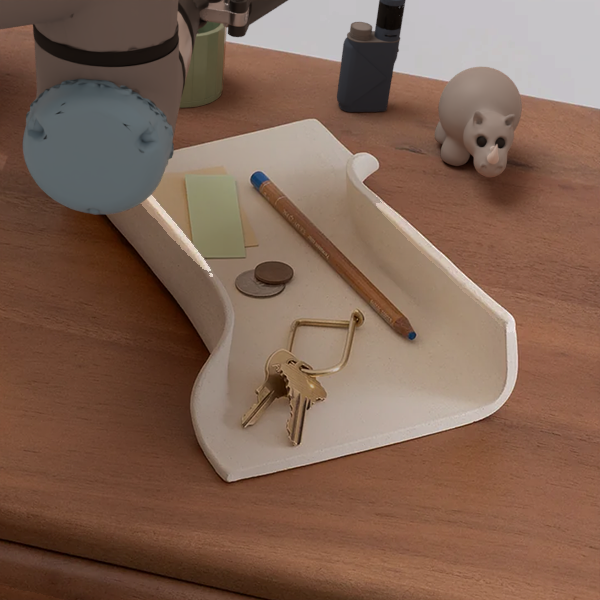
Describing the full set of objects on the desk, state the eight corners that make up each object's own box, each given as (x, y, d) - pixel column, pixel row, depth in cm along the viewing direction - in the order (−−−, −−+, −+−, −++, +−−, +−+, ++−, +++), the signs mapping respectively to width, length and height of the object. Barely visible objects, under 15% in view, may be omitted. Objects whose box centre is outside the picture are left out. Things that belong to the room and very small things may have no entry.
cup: (113, 83, 101) (112, 13, 97) (178, 59, 107) (180, -8, 103) (176, 116, 97) (178, 44, 93) (241, 90, 103) (245, 21, 99)
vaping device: (392, 112, 102) (412, -9, 95) (339, 113, 101) (355, -10, 94) (385, 100, 104) (404, -20, 97) (333, 100, 103) (348, -21, 96)
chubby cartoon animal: (438, 203, 90) (456, 111, 84) (426, 134, 99) (442, 49, 94) (522, 210, 90) (546, 120, 85) (503, 141, 99) (523, 56, 94)
